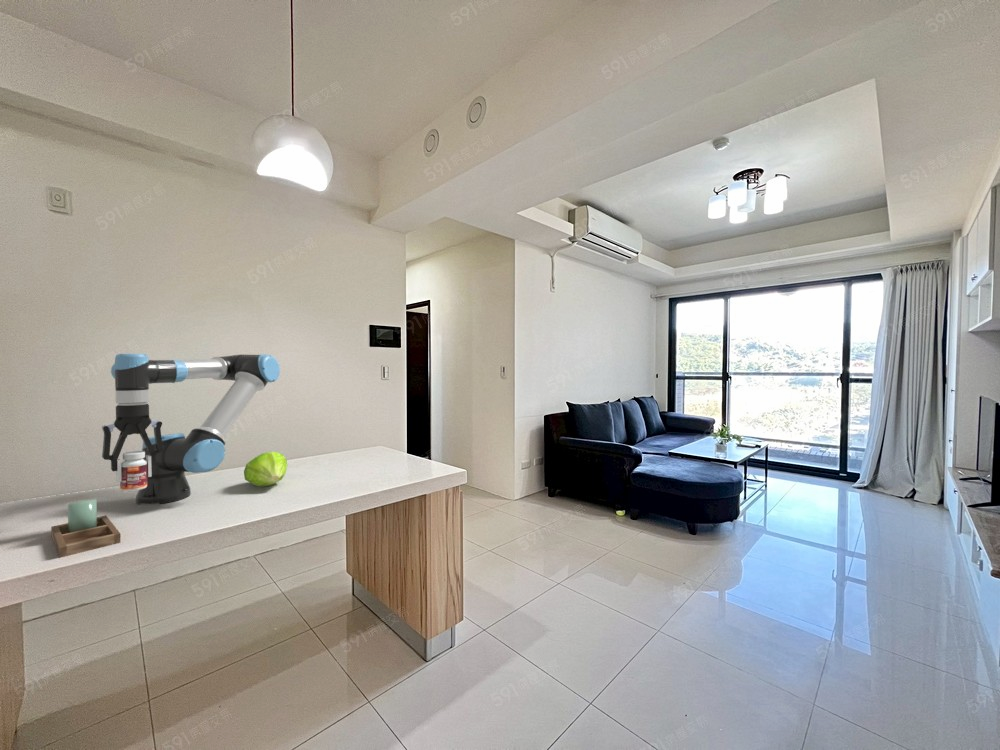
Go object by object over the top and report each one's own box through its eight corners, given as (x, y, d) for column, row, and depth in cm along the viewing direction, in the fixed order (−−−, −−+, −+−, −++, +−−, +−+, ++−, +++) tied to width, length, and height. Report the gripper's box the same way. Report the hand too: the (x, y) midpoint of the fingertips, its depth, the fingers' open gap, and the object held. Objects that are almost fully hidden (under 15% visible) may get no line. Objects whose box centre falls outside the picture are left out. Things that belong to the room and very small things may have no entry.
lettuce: (250, 495, 148) (250, 459, 148) (240, 483, 163) (240, 451, 163) (294, 487, 159) (294, 454, 159) (281, 477, 174) (281, 446, 173)
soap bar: (95, 528, 116) (95, 497, 116) (98, 533, 113) (98, 501, 112) (67, 534, 112) (66, 502, 112) (69, 539, 108) (68, 507, 108)
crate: (106, 525, 120) (106, 515, 120) (120, 544, 107) (120, 533, 107) (51, 537, 111) (51, 526, 111) (59, 560, 98) (59, 547, 98)
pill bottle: (127, 493, 119) (127, 455, 118) (115, 490, 121) (115, 453, 121) (151, 487, 124) (151, 451, 124) (140, 485, 127) (140, 449, 126)
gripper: (168, 400, 132) (170, 469, 132) (85, 405, 117) (87, 483, 117) (175, 402, 127) (176, 473, 128) (89, 407, 112) (91, 488, 113)
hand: (134, 478), depth 123 cm, fingers closed on pill bottle, 6 cm apart
